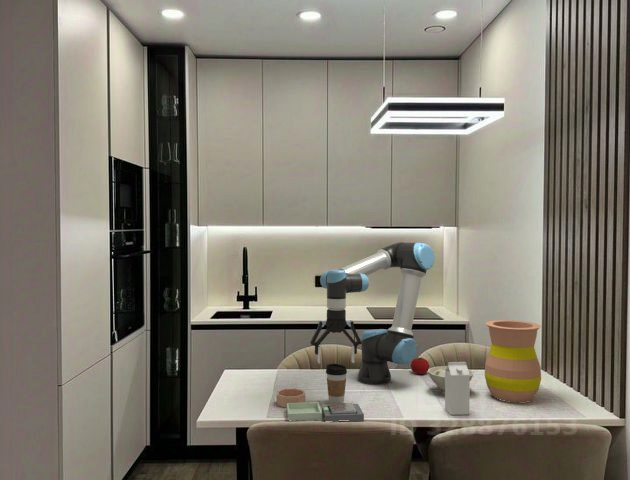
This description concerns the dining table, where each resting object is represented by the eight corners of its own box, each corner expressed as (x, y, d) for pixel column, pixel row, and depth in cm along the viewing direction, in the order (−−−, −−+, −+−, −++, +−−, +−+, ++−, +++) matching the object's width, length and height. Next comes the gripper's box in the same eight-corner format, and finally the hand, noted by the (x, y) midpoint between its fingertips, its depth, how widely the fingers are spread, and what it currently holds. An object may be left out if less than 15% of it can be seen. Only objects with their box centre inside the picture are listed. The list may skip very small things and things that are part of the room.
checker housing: (357, 410, 213) (357, 402, 213) (363, 421, 201) (363, 412, 201) (321, 411, 212) (321, 403, 212) (325, 422, 200) (325, 414, 200)
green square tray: (318, 408, 215) (318, 402, 215) (322, 419, 203) (321, 412, 203) (286, 410, 213) (286, 403, 213) (288, 421, 201) (288, 413, 201)
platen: (352, 405, 211) (352, 402, 211) (356, 413, 202) (356, 410, 202) (328, 406, 210) (328, 403, 210) (331, 414, 201) (331, 411, 201)
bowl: (466, 402, 222) (466, 377, 222) (420, 394, 232) (420, 371, 232) (479, 390, 239) (479, 367, 238) (436, 383, 249) (436, 361, 249)
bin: (303, 398, 228) (303, 388, 228) (306, 407, 217) (306, 396, 216) (276, 399, 226) (276, 389, 226) (277, 408, 215) (277, 397, 215)
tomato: (410, 370, 271) (410, 354, 271) (428, 371, 270) (428, 355, 270) (410, 375, 262) (410, 358, 262) (429, 376, 261) (430, 359, 261)
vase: (482, 402, 222) (483, 327, 222) (485, 387, 243) (486, 318, 242) (542, 408, 215) (542, 331, 214) (540, 392, 236) (540, 321, 235)
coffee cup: (333, 398, 227) (333, 362, 227) (351, 402, 222) (351, 365, 222) (321, 404, 220) (321, 366, 220) (339, 408, 216) (339, 369, 215)
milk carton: (444, 409, 214) (445, 360, 214) (462, 408, 215) (463, 359, 214) (450, 415, 207) (451, 364, 207) (469, 414, 208) (469, 364, 207)
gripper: (365, 307, 225) (364, 359, 226) (304, 307, 223) (303, 360, 223) (369, 310, 218) (368, 364, 218) (305, 310, 215) (305, 365, 216)
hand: (335, 362), depth 221 cm, fingers open, 13 cm apart
